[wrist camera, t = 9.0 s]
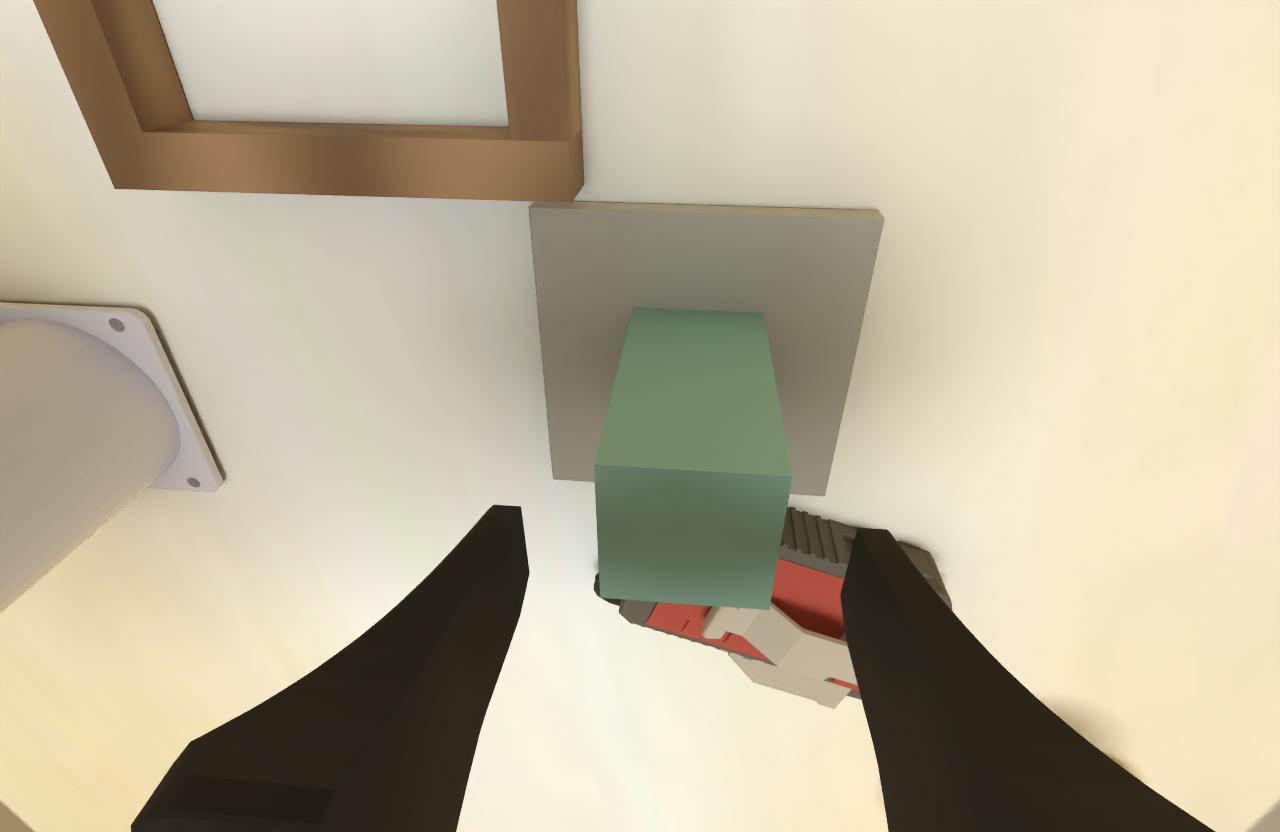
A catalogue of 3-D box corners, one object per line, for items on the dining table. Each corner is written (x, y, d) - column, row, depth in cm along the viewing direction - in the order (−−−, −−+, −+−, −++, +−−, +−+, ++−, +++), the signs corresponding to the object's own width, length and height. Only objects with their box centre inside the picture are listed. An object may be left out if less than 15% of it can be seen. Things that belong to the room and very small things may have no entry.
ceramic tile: (557, 466, 24) (552, 479, 24) (535, 200, 19) (528, 207, 18) (821, 482, 24) (824, 496, 23) (877, 210, 18) (884, 218, 18)
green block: (633, 415, 22) (599, 597, 15) (633, 307, 20) (594, 464, 13) (750, 422, 22) (769, 610, 15) (763, 313, 19) (792, 476, 13)
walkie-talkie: (583, 593, 29) (974, 710, 31) (565, 679, 25) (1010, 805, 27) (645, 448, 24) (1102, 598, 26) (634, 528, 20) (1167, 695, 22)
